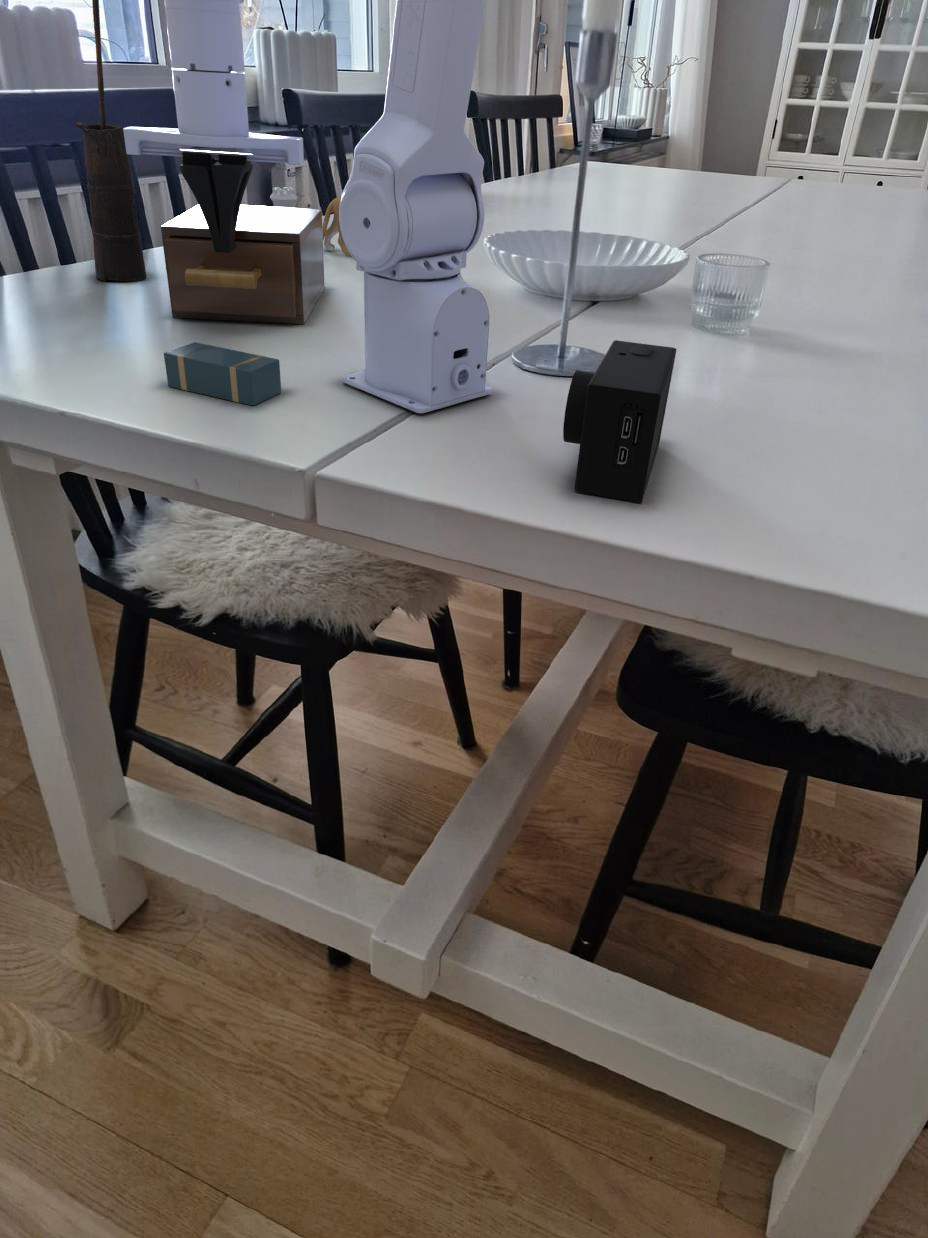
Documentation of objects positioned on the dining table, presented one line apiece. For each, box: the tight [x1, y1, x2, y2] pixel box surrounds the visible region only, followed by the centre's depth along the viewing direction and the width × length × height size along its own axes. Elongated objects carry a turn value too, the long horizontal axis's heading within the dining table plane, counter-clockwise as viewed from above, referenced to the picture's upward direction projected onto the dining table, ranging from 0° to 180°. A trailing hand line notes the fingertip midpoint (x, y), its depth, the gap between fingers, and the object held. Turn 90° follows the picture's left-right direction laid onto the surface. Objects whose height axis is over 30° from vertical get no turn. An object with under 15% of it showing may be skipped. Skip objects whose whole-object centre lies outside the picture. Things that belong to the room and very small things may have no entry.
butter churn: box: [75, 0, 147, 282], centre depth 87 cm, size 9×10×28 cm
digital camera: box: [562, 339, 677, 504], centre depth 56 cm, size 10×5×7 cm, turn 163°
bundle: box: [163, 341, 282, 407], centre depth 66 cm, size 8×4×3 cm, turn 65°
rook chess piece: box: [269, 186, 298, 208], centre depth 105 cm, size 4×4×8 cm
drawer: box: [165, 237, 297, 317], centre depth 84 cm, size 18×11×6 cm, turn 0°
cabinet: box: [160, 204, 326, 325], centre depth 87 cm, size 15×13×8 cm
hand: (224, 250), depth 77 cm, fingers closed, pressing on drawer
